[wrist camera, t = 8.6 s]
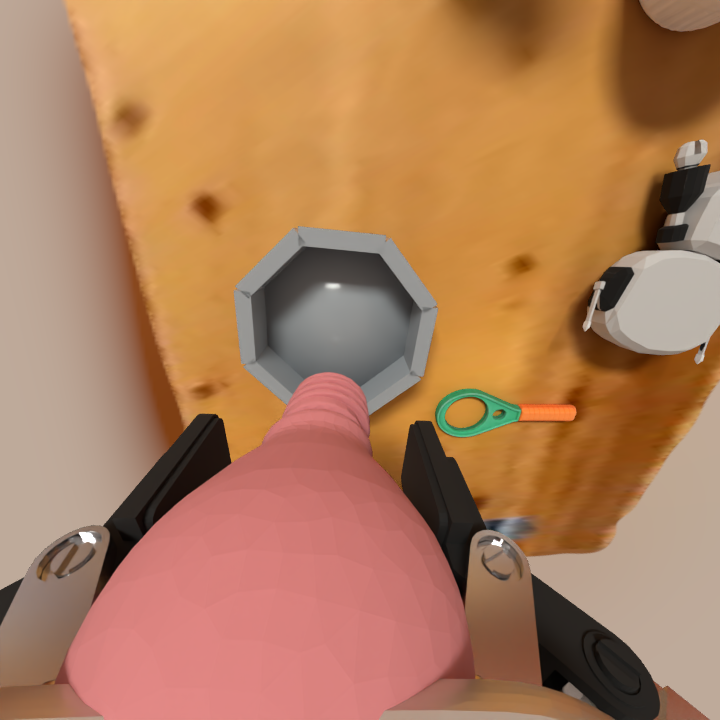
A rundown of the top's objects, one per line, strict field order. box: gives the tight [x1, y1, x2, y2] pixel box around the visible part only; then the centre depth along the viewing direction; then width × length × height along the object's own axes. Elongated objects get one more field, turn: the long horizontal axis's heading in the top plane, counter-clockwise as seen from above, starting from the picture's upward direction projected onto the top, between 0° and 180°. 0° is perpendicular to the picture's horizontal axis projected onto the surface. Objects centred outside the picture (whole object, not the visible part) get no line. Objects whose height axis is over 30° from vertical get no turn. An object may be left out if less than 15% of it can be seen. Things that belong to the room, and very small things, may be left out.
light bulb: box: [54, 372, 475, 720], centre depth 8 cm, size 7×7×12 cm
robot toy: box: [583, 140, 720, 364], centre depth 23 cm, size 12×4×15 cm
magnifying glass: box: [435, 389, 576, 437], centre depth 30 cm, size 15×6×2 cm, turn 90°
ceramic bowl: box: [234, 226, 438, 415], centre depth 24 cm, size 15×15×4 cm
